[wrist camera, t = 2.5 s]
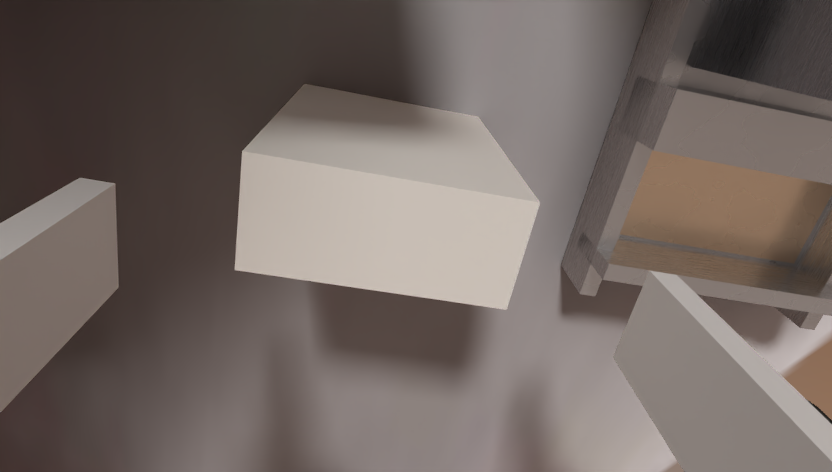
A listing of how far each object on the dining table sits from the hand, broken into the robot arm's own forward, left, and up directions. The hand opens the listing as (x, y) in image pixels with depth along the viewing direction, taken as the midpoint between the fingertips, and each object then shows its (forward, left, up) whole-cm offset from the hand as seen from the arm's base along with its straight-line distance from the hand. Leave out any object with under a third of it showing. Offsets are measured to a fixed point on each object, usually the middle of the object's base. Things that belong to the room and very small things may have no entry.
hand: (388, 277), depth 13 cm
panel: (0, 0, -13) cm, 13 cm away
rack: (+16, +3, -13) cm, 21 cm away
